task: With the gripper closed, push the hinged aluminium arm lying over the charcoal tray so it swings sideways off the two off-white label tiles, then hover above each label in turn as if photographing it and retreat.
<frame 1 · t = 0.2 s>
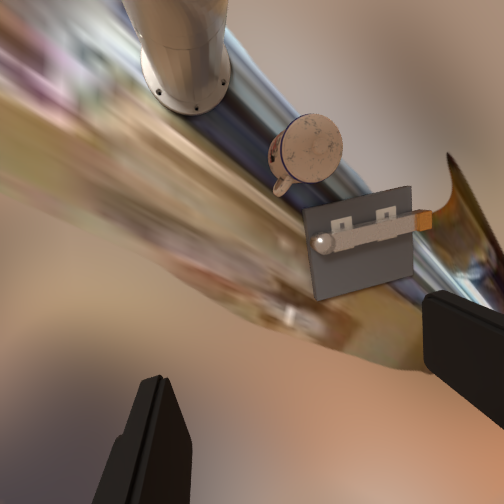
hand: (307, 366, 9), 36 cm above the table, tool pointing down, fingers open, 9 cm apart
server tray: (358, 243, 49), on the table
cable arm: (371, 231, 44), point 4 cm above the table, hinge at 0.0°
teacup with lid: (286, 165, 43), on the table
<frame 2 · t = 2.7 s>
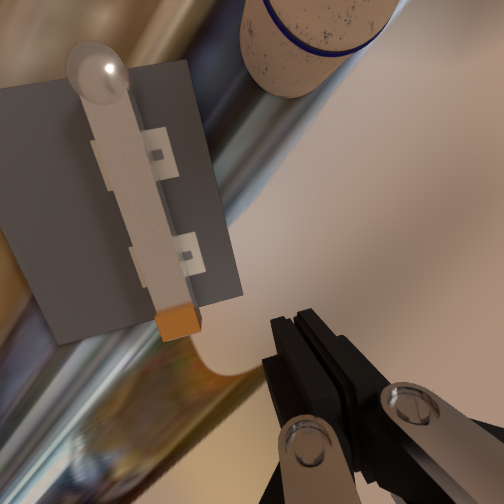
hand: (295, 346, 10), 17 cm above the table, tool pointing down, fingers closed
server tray: (122, 212, 23), on the table
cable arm: (146, 211, 20), point 4 cm above the table, hinge at 0.0°
teacup with lid: (273, 35, 22), on the table
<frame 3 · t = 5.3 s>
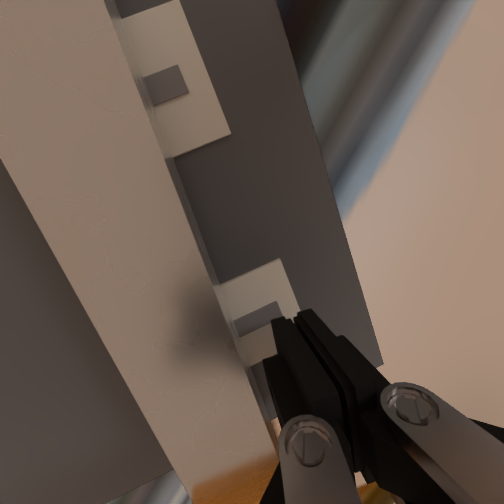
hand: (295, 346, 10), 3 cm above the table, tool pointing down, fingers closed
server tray: (114, 244, 10), on the table
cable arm: (142, 247, 7), point 4 cm above the table, hinge at 5.2°, touching gripper
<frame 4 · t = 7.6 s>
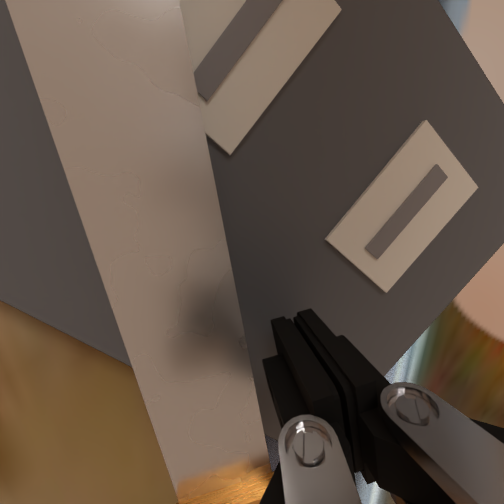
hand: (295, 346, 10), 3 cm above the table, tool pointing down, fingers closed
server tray: (262, 191, 11), on the table
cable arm: (166, 232, 7), point 4 cm above the table, hinge at 41.2°, touching gripper
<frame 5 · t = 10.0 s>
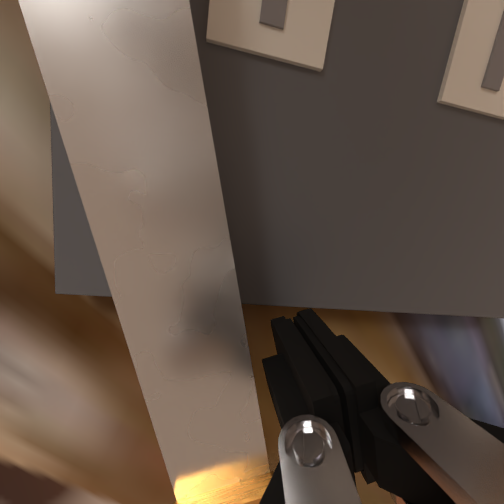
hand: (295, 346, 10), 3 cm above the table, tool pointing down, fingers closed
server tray: (347, 99, 11), on the table
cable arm: (170, 230, 7), point 4 cm above the table, hinge at 73.5°, touching gripper
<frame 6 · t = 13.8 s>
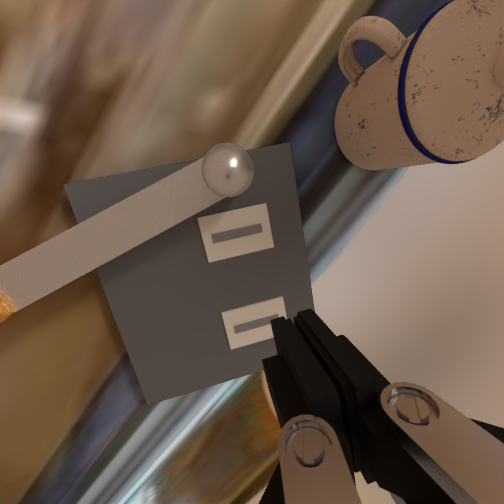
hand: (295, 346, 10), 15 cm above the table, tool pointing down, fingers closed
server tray: (213, 277, 24), on the table
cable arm: (113, 233, 18), point 4 cm above the table, hinge at 73.6°
teacup with lid: (362, 113, 23), on the table
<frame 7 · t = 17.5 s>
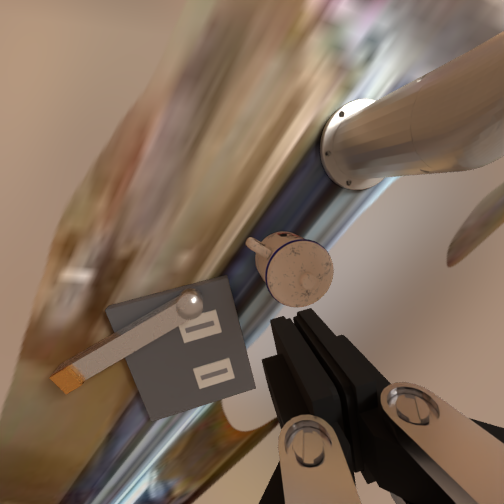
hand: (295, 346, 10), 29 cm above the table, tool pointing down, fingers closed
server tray: (188, 347, 41), on the table
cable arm: (132, 338, 35), point 4 cm above the table, hinge at 73.6°
teacup with lid: (273, 252, 40), on the table
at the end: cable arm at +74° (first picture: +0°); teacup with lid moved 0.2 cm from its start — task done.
